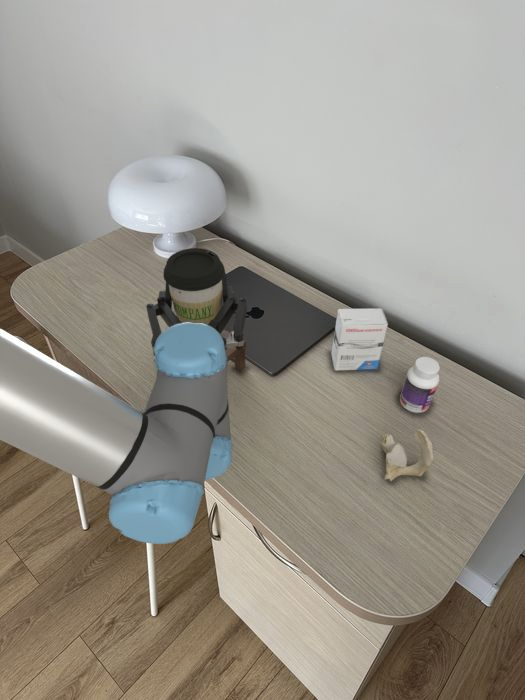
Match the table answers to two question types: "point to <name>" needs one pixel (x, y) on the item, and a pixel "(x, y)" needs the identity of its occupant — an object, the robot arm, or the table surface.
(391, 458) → the bone
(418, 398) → the pill bottle
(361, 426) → the table surface
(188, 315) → the coffee cup
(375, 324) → the ink box
